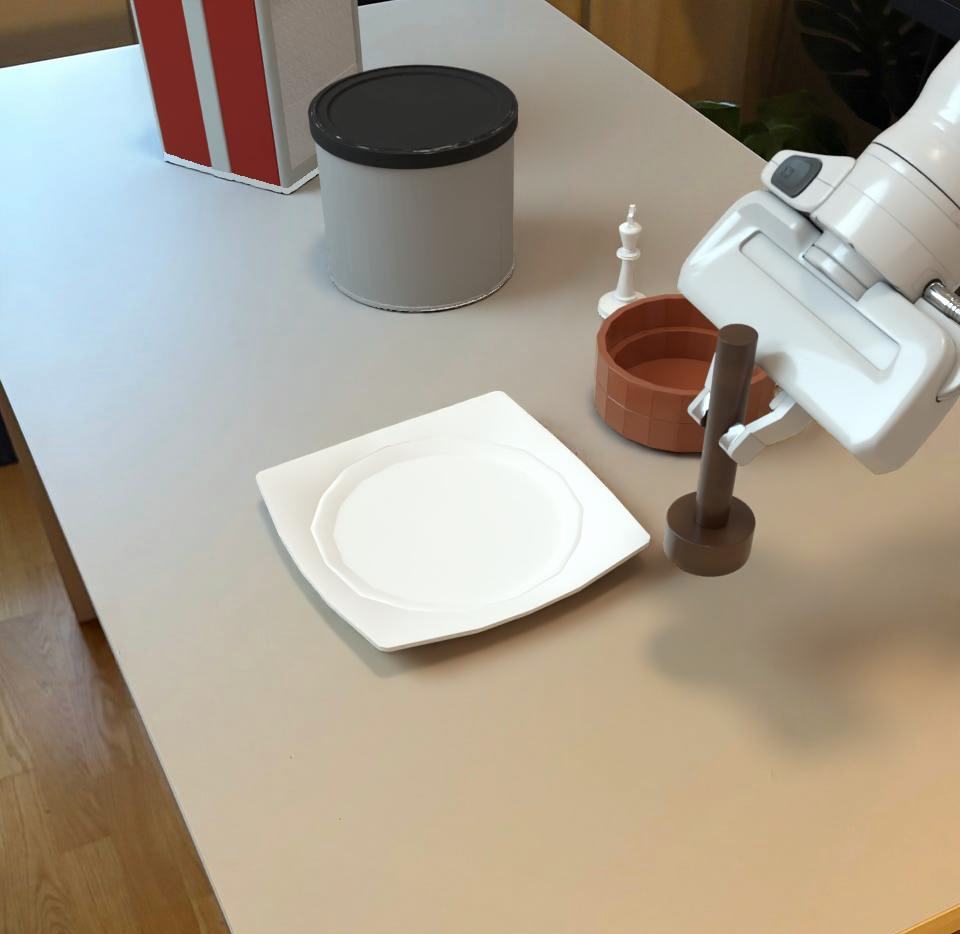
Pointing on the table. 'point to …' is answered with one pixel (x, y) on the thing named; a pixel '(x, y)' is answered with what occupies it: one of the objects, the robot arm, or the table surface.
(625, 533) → the plate
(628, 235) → the chess piece
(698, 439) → the bowl
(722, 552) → the brown stick on disc
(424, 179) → the container
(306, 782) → the table surface
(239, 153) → the red white tall box
